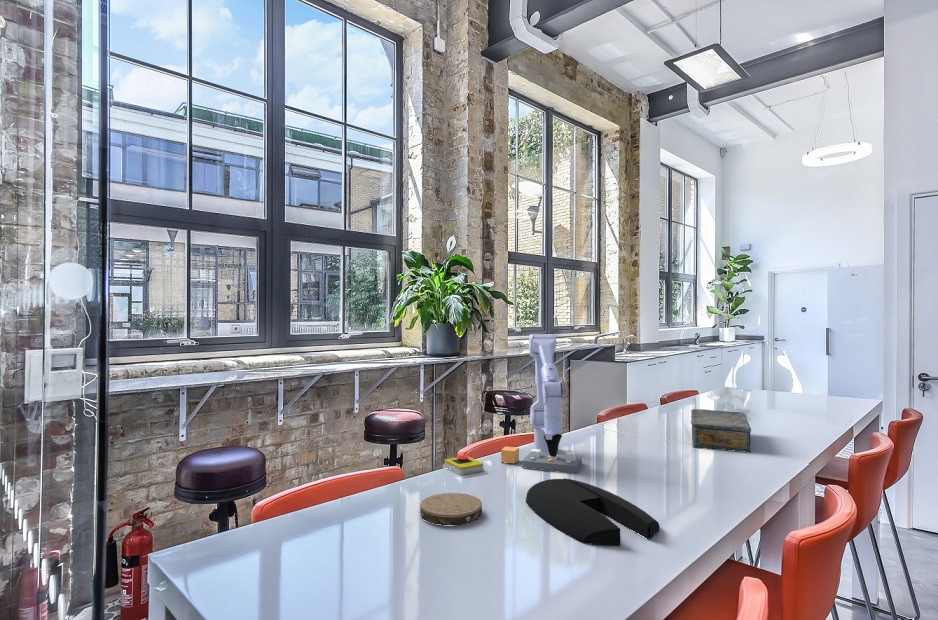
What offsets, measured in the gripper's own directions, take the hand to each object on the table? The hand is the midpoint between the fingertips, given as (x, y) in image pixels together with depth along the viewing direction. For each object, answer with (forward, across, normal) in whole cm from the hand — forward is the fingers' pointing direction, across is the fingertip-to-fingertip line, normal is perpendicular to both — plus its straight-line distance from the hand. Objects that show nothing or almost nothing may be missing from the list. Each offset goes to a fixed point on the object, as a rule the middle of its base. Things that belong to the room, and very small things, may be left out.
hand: (553, 456), depth 177 cm
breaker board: (+3, +1, 0) cm, 3 cm away
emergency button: (+4, +15, -27) cm, 31 cm away
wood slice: (+4, +52, -16) cm, 55 cm away
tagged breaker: (+3, 0, 0) cm, 3 cm away
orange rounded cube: (+3, +1, -15) cm, 15 cm away
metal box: (+4, -56, +56) cm, 79 cm away
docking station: (+4, +39, +16) cm, 42 cm away
